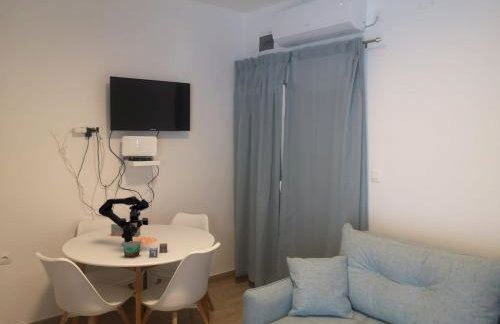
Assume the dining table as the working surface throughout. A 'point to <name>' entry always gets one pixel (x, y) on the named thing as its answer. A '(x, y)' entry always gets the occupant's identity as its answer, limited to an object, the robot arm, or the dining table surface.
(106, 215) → the robot arm
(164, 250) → the walnut block numbered 1
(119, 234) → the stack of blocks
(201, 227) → the dining table surface
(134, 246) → the food container
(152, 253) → the charcoal block numbered 7
